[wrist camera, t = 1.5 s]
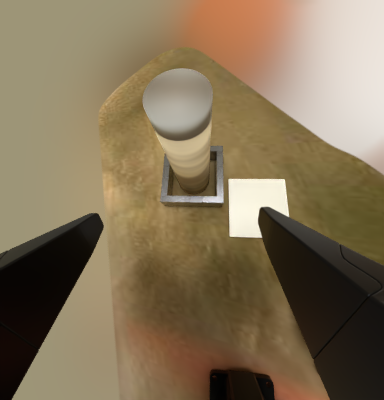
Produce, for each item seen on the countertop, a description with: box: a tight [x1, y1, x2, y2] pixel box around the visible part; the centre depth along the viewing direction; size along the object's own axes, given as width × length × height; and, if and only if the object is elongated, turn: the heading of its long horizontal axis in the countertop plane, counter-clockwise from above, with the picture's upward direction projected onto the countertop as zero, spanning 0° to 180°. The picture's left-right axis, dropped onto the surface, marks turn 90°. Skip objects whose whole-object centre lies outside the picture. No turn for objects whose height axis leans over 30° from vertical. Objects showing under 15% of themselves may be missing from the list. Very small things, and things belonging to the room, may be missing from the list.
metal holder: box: [160, 146, 223, 207], centre depth 22 cm, size 8×8×2 cm
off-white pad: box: [228, 179, 289, 238], centre depth 21 cm, size 8×8×1 cm
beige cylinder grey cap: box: [143, 68, 213, 194], centre depth 16 cm, size 4×4×14 cm
